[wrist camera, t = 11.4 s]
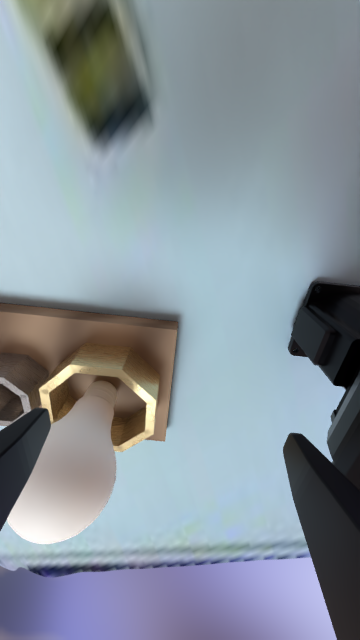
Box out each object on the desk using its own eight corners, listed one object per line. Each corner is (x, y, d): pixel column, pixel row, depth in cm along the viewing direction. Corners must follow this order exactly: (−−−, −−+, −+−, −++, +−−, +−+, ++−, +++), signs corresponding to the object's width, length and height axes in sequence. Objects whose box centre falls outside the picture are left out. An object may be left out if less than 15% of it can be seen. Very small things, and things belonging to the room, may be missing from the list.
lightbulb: (94, 417, 24) (24, 571, 14) (58, 369, 21) (-58, 516, 11) (151, 401, 22) (118, 558, 12) (119, 348, 20) (48, 492, 10)
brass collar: (162, 350, 20) (158, 373, 17) (155, 426, 24) (151, 454, 21) (54, 339, 20) (33, 360, 17) (65, 417, 24) (49, 444, 21)
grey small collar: (46, 356, 21) (24, 379, 18) (53, 402, 23) (35, 429, 20) (-16, 350, 21) (-47, 372, 18) (-2, 396, 23) (-28, 422, 20)
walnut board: (178, 321, 20) (177, 330, 19) (166, 429, 26) (164, 441, 25) (-37, 299, 20) (-53, 305, 19) (-2, 412, 26) (-13, 424, 24)
